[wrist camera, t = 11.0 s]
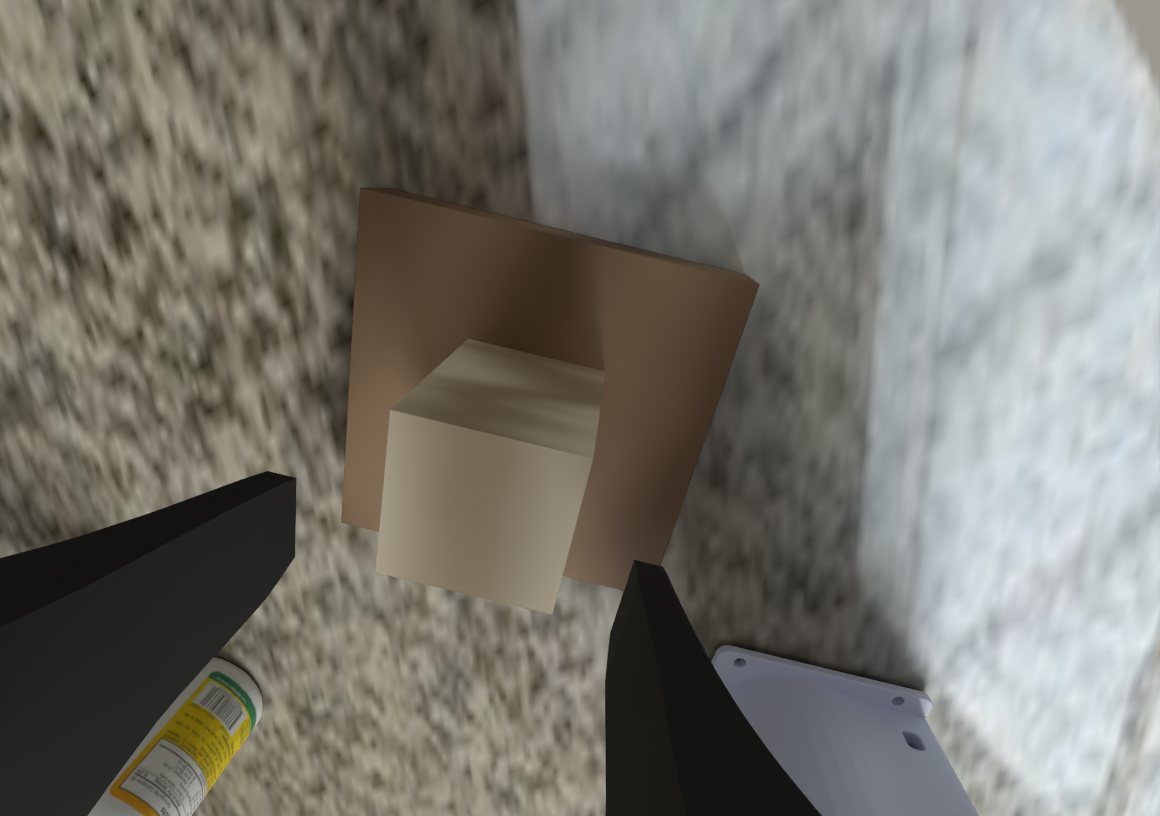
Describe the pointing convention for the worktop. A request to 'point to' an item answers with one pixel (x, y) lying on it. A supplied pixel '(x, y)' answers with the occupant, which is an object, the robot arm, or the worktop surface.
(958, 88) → the worktop surface
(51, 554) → the robot arm
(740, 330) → the walnut plinth
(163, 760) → the supplement bottle
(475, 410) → the beech block
